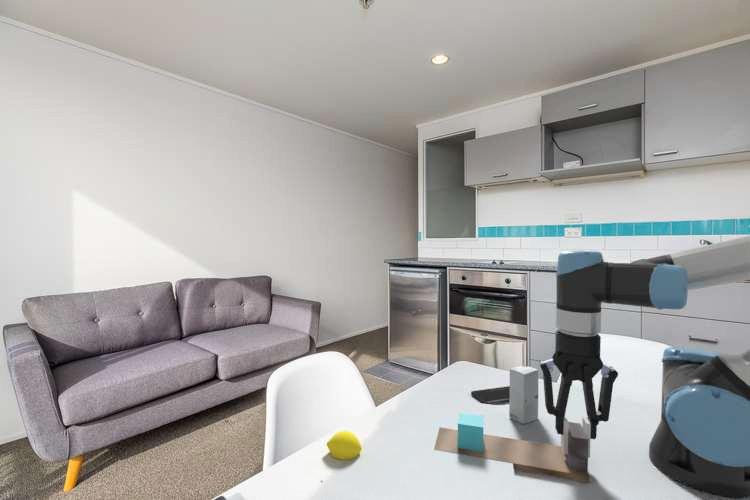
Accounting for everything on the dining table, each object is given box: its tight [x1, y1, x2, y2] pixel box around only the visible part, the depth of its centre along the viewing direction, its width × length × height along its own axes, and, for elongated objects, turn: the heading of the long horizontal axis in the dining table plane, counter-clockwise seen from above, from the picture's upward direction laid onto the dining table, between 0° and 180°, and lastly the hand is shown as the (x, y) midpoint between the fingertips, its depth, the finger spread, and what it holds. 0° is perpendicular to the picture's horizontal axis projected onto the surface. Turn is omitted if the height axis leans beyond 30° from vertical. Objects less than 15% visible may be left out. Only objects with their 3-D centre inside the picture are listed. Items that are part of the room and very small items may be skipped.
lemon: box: [326, 430, 362, 461], centre depth 72 cm, size 7×5×5 cm
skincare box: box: [508, 364, 539, 425], centre depth 89 cm, size 6×4×12 cm
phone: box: [470, 385, 510, 406], centre depth 101 cm, size 8×1×15 cm
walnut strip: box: [433, 421, 591, 484], centre depth 74 cm, size 28×9×7 cm, turn 73°
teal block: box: [457, 412, 484, 452], centre depth 76 cm, size 5×5×5 cm
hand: (575, 451), depth 70 cm, fingers closed on walnut strip, 3 cm apart
